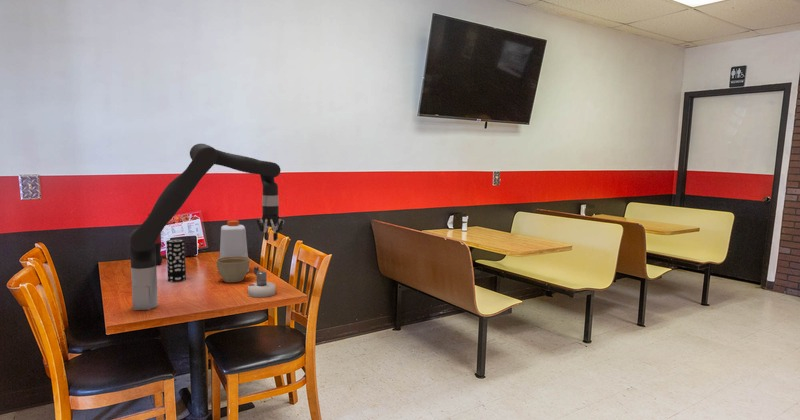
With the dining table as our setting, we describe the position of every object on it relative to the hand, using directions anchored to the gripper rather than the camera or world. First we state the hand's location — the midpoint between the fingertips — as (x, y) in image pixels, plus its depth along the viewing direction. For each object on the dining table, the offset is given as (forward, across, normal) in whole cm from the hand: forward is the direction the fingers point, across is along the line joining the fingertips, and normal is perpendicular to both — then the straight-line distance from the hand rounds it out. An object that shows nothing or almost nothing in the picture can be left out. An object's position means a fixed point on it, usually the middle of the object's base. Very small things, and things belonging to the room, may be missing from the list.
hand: (270, 240), depth 227 cm
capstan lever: (+19, +3, +7) cm, 20 cm away
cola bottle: (+23, +83, -28) cm, 91 cm away
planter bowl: (+23, +24, -8) cm, 34 cm away
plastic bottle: (+23, +32, -24) cm, 47 cm away
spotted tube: (+23, +51, -2) cm, 57 cm away
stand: (+23, 0, +10) cm, 25 cm away
